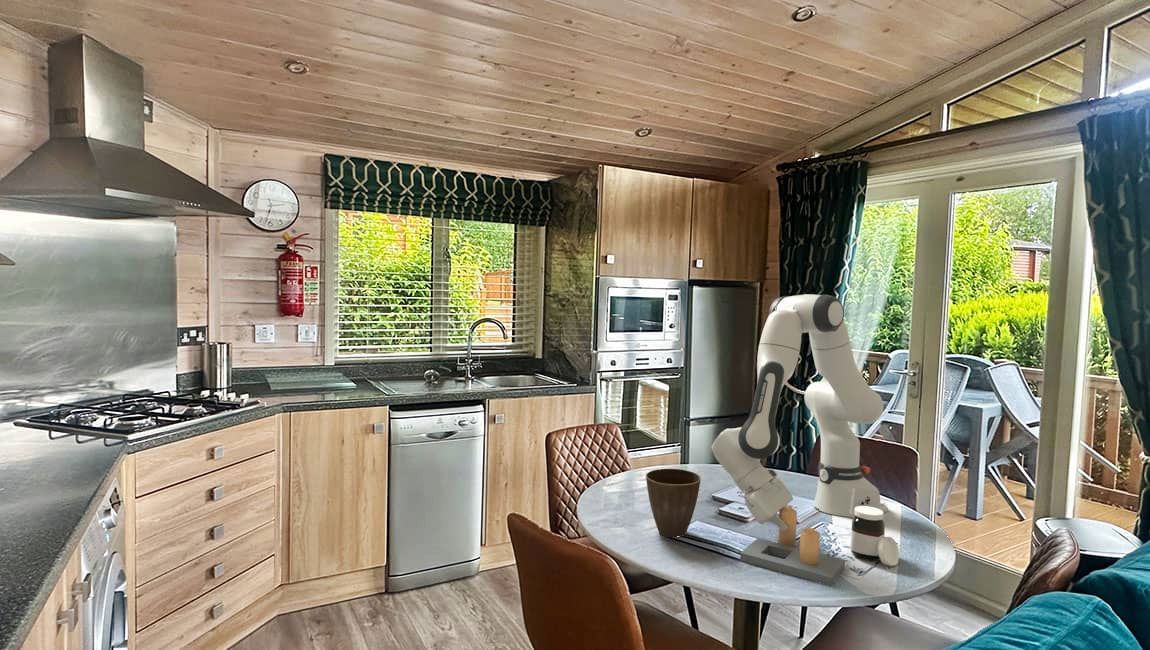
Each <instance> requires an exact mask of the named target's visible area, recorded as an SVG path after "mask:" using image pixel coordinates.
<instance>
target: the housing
mask: <svg viewBox="0 0 1150 650" xmlns="http://www.w3.org/2000/svg"><path fill="white" fill-rule="evenodd" d="M799 532H800V533H799V534H800V535H799V547H796V546H794V547H792V546H788V545H784V544H780V543H778V542H774V541H772V540H768V539H764V538H761V537H760V538H759V537H757V538H756V539H755V540H754V541H752V543H750V544H749V545H748V546H747V547H745V548H744V549H743V550H742V551H741V552H740V558H739V561H741V562H744V563H748V564H752V565H755V566H757V567H758V566H759V567H762V568H766V569H769V570H773V571H776V572H780V573H784V574H787V575H791V576H795V577H797V576H798V578H801V579H806V580H808V579H809V581H812V580H813V581H812V582H815V581H817V582H816V583H819V582H821V583H820V584H822V583H824V585H826V584H828V585H827V586H830V585H832V584H833V583H836V581H837V580H838V578H839V577H840V575H842V573H843V572H844V570H845V568H846V560H845V559H842V558H838V557H834V556H830V555H826V554H822V553H820V535H821V533H820V532H819V531H817V530H816V528H812V527H809V526H806V527H805V529H801V530H800V531H799ZM769 554H771V555H769ZM772 555H774V556H772ZM776 556H779V557H782V558H779V557H776ZM836 579H837V580H836ZM833 585H834V584H833ZM833 585H832V586H833Z"/></svg>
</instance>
